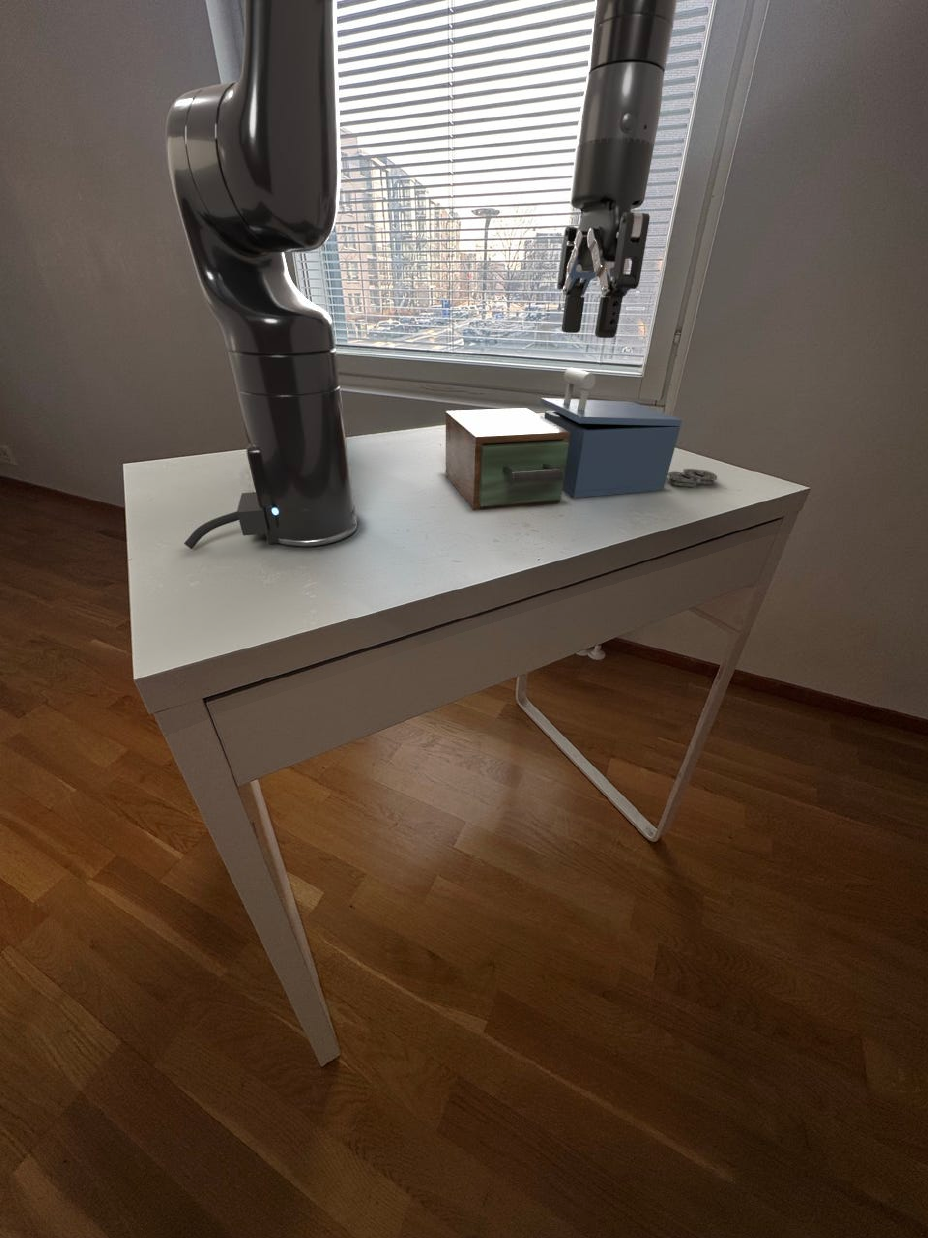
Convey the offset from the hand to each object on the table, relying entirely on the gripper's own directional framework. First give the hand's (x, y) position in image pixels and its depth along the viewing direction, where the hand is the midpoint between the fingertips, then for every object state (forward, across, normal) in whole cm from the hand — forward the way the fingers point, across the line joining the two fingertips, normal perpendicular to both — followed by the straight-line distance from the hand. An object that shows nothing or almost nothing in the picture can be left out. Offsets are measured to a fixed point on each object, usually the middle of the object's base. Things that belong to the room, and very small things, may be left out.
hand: (586, 334), depth 56 cm
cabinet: (+18, 0, +9) cm, 20 cm away
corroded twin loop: (+18, -3, -18) cm, 26 cm away
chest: (+18, +1, -6) cm, 19 cm away
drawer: (+17, -3, +9) cm, 20 cm away
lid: (+9, +1, -5) cm, 10 cm away
